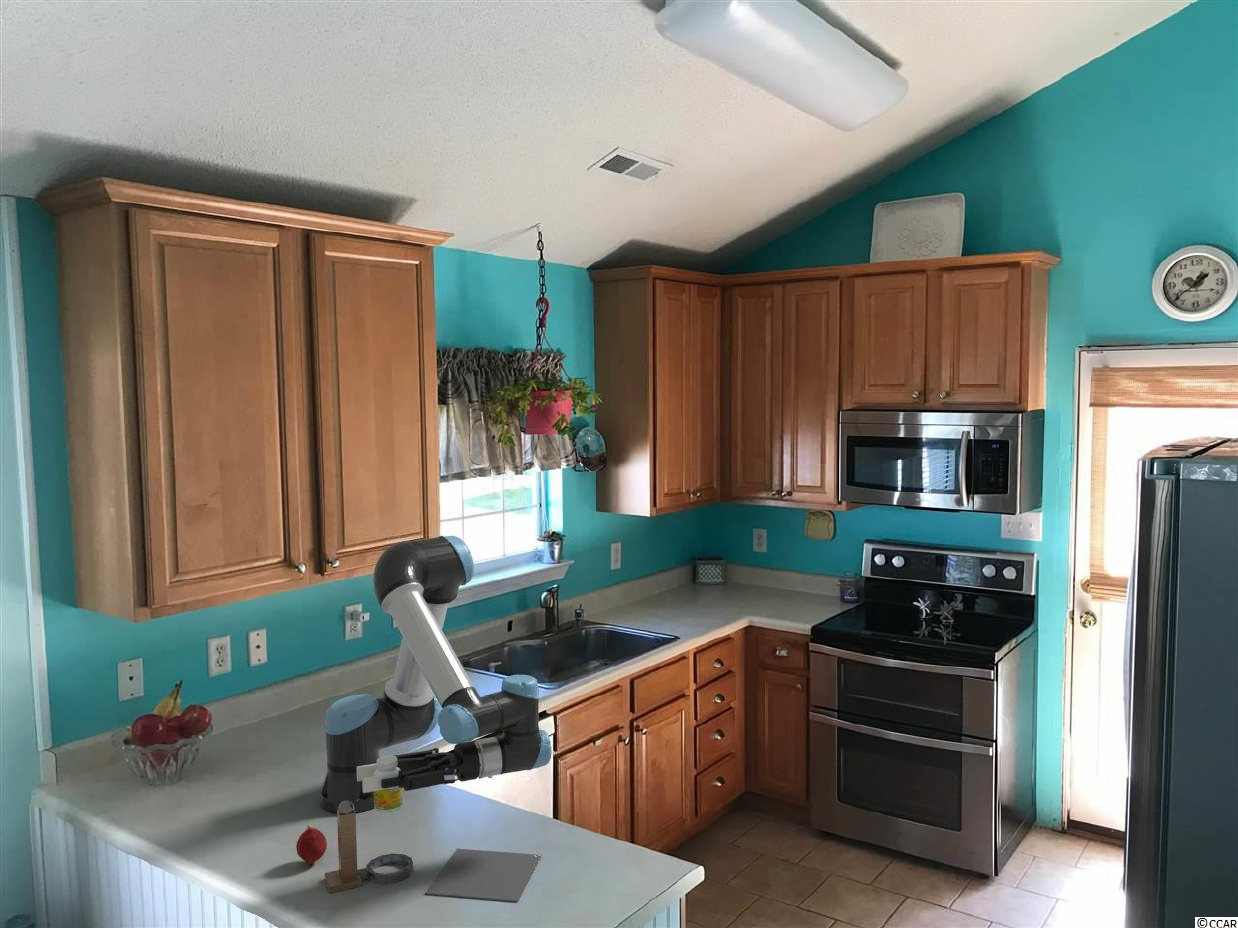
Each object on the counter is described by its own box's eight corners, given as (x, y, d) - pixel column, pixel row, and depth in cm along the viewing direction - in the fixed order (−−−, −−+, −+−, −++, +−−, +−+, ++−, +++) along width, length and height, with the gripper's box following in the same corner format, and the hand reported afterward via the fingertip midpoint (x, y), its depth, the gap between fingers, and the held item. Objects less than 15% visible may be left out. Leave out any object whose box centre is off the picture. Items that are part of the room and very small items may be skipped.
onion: (330, 856, 199) (329, 818, 198) (322, 869, 193) (321, 830, 192) (301, 856, 198) (300, 818, 198) (293, 870, 193) (291, 831, 192)
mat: (457, 849, 201) (457, 848, 201) (541, 856, 198) (541, 854, 198) (425, 894, 183) (425, 892, 183) (517, 902, 180) (517, 900, 180)
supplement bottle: (368, 808, 190) (367, 759, 190) (390, 799, 195) (389, 751, 194) (385, 815, 187) (384, 766, 186) (407, 806, 191) (406, 758, 190)
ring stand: (345, 857, 198) (342, 780, 197) (419, 863, 195) (417, 785, 194) (312, 891, 185) (309, 809, 183) (392, 898, 182) (389, 815, 181)
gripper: (490, 794, 190) (369, 817, 180) (463, 761, 206) (352, 781, 197) (489, 756, 189) (368, 777, 179) (463, 727, 206) (351, 744, 196)
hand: (360, 779), depth 188 cm, fingers closed on supplement bottle, 5 cm apart
